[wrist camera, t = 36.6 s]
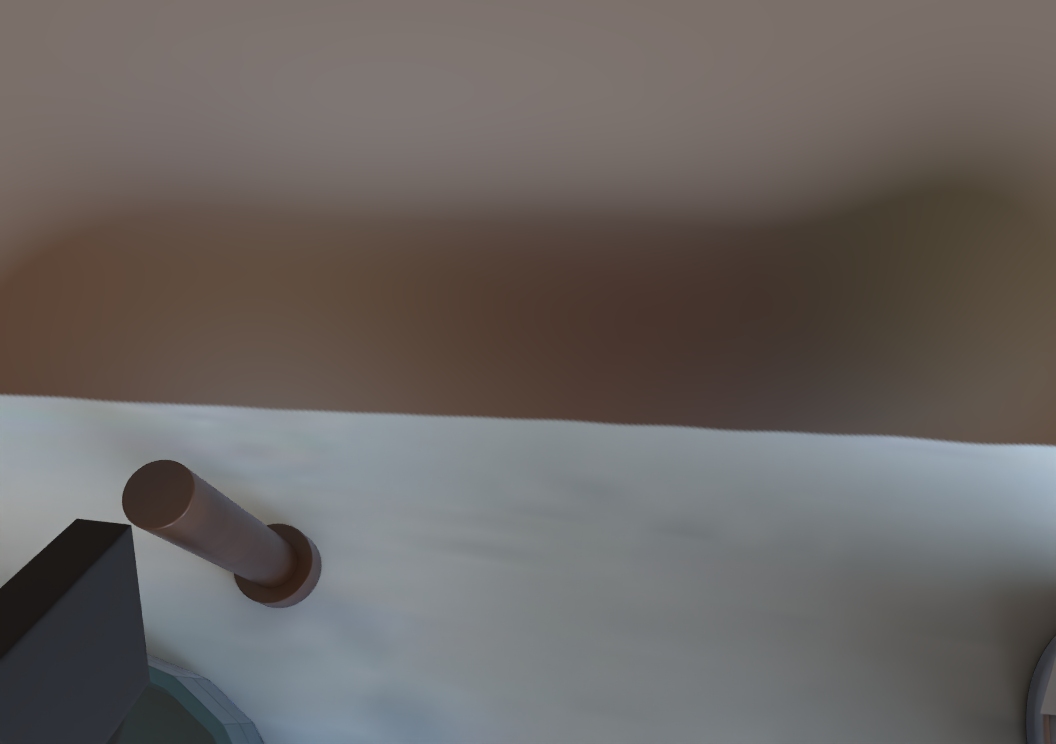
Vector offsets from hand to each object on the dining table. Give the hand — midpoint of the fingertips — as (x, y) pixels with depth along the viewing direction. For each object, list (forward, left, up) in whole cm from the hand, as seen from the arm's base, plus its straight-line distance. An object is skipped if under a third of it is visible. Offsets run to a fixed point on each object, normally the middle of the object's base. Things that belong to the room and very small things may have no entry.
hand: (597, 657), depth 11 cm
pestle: (+13, +8, -32) cm, 35 cm away
